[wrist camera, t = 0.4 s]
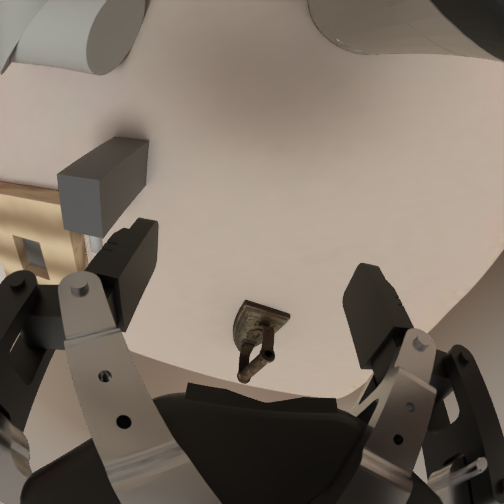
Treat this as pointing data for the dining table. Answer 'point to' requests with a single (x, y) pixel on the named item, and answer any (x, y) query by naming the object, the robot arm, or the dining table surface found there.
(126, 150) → the plug
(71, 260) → the socket board
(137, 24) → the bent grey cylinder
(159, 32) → the dining table surface
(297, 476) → the robot arm
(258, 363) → the clothes iron
